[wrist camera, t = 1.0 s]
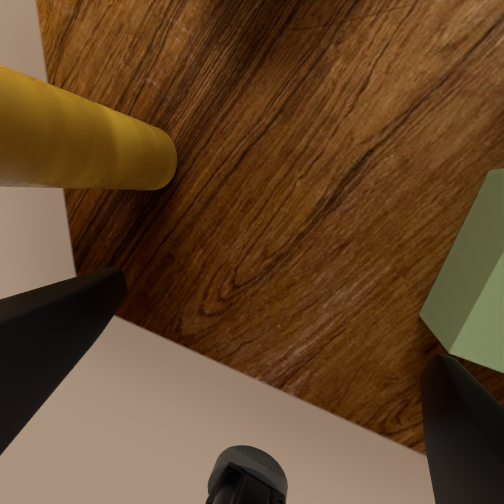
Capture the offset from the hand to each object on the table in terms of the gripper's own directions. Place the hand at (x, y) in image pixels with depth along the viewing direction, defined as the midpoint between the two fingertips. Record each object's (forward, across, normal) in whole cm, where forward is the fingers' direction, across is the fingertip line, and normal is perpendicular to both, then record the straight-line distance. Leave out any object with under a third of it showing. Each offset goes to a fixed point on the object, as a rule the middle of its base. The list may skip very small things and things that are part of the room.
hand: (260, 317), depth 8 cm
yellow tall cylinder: (+14, +13, 0) cm, 19 cm away
